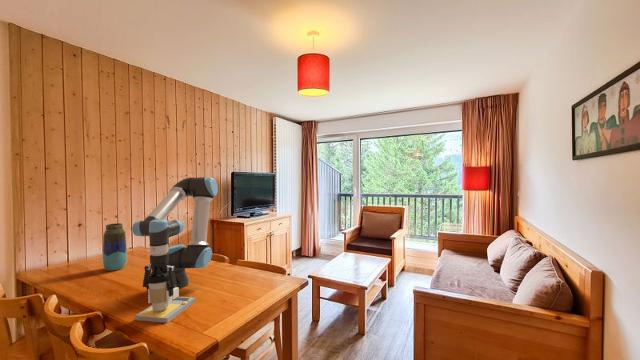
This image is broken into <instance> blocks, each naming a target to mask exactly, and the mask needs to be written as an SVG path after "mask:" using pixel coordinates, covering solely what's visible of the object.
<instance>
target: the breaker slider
mask: <svg viewBox="0 0 640 360" xmlns="http://www.w3.org/2000/svg"><path fill="white" fill-rule="evenodd" d="M177 297H180V289H179V287H175V288H174V289H173V296H172V300H174V299H175V298H177Z"/></svg>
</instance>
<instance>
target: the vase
mask: <svg viewBox="0 0 640 360" xmlns="http://www.w3.org/2000/svg"><path fill="white" fill-rule="evenodd" d="M123 227H124V226H123V223H118V222H117V223H109V224H106V225H105V231H104V233H103V236H102V257H101V259H102V266H103V268H104V269H105V270H106V271H109V272H113V271H114V270H115V271H118V270H121V269H123V268H125V266H126V265H127V262H128V248H127V238H126V232H125V230H124V228H123Z"/></svg>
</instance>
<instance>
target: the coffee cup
mask: <svg viewBox="0 0 640 360" xmlns="http://www.w3.org/2000/svg"><path fill="white" fill-rule="evenodd" d="M164 274H165V273H164ZM169 280H170V278H169V275H167V276H165V277H162V276H161V275H159V274H157V275H156V276H154V277H152V276H151V275H150V276H149V279H148V281H147V282H148V283H149V292H150V298H151V303H150V304H151V306H152V308H153V310H154V311H160V310H164V309H166V308H167V307H168V304H167V295H166V290H168V288H167V286H166V281H169Z"/></svg>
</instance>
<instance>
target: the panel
mask: <svg viewBox="0 0 640 360" xmlns="http://www.w3.org/2000/svg"><path fill="white" fill-rule="evenodd" d="M196 300H197V299H196V297H189V296H178V297H177V298H175V299H174V300H172V302H171V303H170V304H168V307H167V308H166V309H164V310H160V311H154V310H153V308H152V305H150V306H148V307H147V308H146V309H144V310H142V311H141V312H138V313H137V314H135V316H134V317H135V321H141V322H143V321H144V322H153V323H164V324H165V323H166V324H168V323H169V322H171V320H173V319H175V318H176V317H177V316H178V315H179V316H180V314H181V313H183V312H184V311H185V310H186V309H188V308H190V307H191V306H192V305H193V304H194V303H196Z"/></svg>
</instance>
